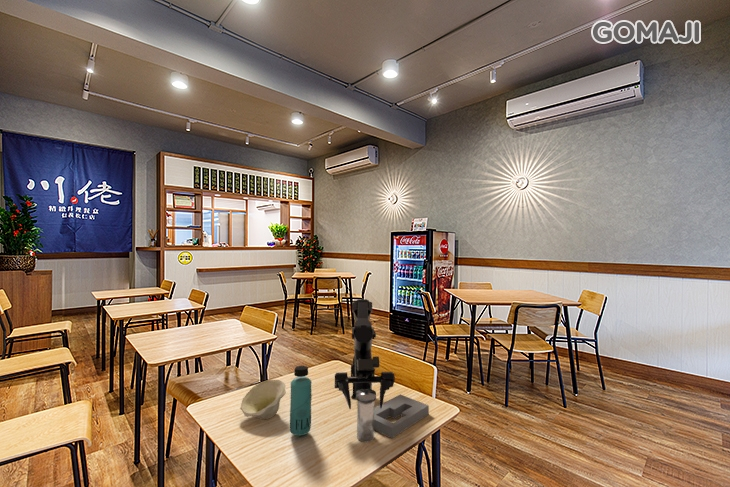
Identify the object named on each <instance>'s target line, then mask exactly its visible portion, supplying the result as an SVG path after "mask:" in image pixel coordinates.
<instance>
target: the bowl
mask: <svg viewBox="0 0 730 487" xmlns="http://www.w3.org/2000/svg"><path fill="white" fill-rule="evenodd" d="M286 394H287V390H286V383H285V381H282V380H279V379H267V380H264V381H262V382H260V383H259V382H258V383H257V384H255V385H254V386H252V388H250V389H249V391H247V393H246V394H245V395H244V396H243V398H242V399H241V403H240V407H239V409H240V410H241V412H242V413H243V415H244V417H247V418H248V417H253V418H255V417H256V418H258V419H260V418H261V419H260V420H266V419H271V418H272V417H273V416H275V415H276V414H277V413H278V411H279V408H280V404H281V403H280V402H281V399H282V398H283V397H284V396H285V395H286Z"/></svg>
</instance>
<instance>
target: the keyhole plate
mask: <svg viewBox="0 0 730 487" xmlns="http://www.w3.org/2000/svg"><path fill="white" fill-rule="evenodd" d="M429 407H430V406H429V405H428V404H427V403H424V402H421V401H418V400H415V399H414V398H411V397H408V396H405V395H403V394H398V395H397V396H394V397H393V398H390V399H388V400H386V401H385V402H384V401H383V404H382V408H380V404H379V405H377V406H374V431H376V432H379V433H380V434H382V435H384V436H387V437H388V438H390V439H393V438H395V437H397V436H398V435H399V434H401V433H402V432H404V431H405V430H407V429H408V428H410V427H411V426H413V425H414V424H416V423H417V422H419V421H421V420H422V419H424V418H425V417H427V416H428V415H429V413H430V412H429V410H430V408H429ZM400 416H401V418H399V419H397V420H396V421H395V422H392V421H390V420H387V418H389V417H390V418H392V419H396V418H398V417H400Z"/></svg>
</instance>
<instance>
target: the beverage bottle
mask: <svg viewBox="0 0 730 487" xmlns="http://www.w3.org/2000/svg"><path fill="white" fill-rule="evenodd" d="M293 375H294V376H295V378H293V379H292V380H291V381H290V402H289V403H290V410H289V432H290V434H292V435H294V436H304V435H306V434H308V433H310V431H311V429H312V397H313V394H312V384H313V383H312V380H311V378H309V377H308V375H309V368H308V366H306V365H298V366H296V367H294V374H293Z"/></svg>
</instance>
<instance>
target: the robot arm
mask: <svg viewBox="0 0 730 487" xmlns="http://www.w3.org/2000/svg"><path fill="white" fill-rule="evenodd" d="M351 308H352V309H351V310H352V312H351V313H353V318H354V320H355V321H354V324H353V327H351V340H353V341H354V348H353V349H354V350H353V351H354V356H353V358H352V364H351V365H350V376H348V372H345V371H344V372H335V374H334V389H338V391H339V392H342V394H343V396H344V398H345V400H346V403H347V405H348V409H349V410H351V409H352V402H351V401H352V400H351V399H356V391H358V390H360V389H372V390H373V384H376V383H378V384H380V387H379V405H380V408H382V404H383V403H384V398H385V394H386V391H388V390H390V388H392V387H394V384H395V380H396V378H395V377H396V376H395V373H394V372H393V371H381V373H380V375H375V373H376V369H377V368H378V369H379V368H380V365H381V364H380V356H372V355H373V354H372V344H373V340H375V338H376V337H377V333H376V330H375V329H374V327H373V326H372V321H370V319H371V314H372V313H373V302H371V301H370V300H369V299H368V298H366V299H364V298H363V299H362V298H360V299H356V300H355V301H353V302H352V307H351ZM350 384H352V395H351V393H350Z"/></svg>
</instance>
